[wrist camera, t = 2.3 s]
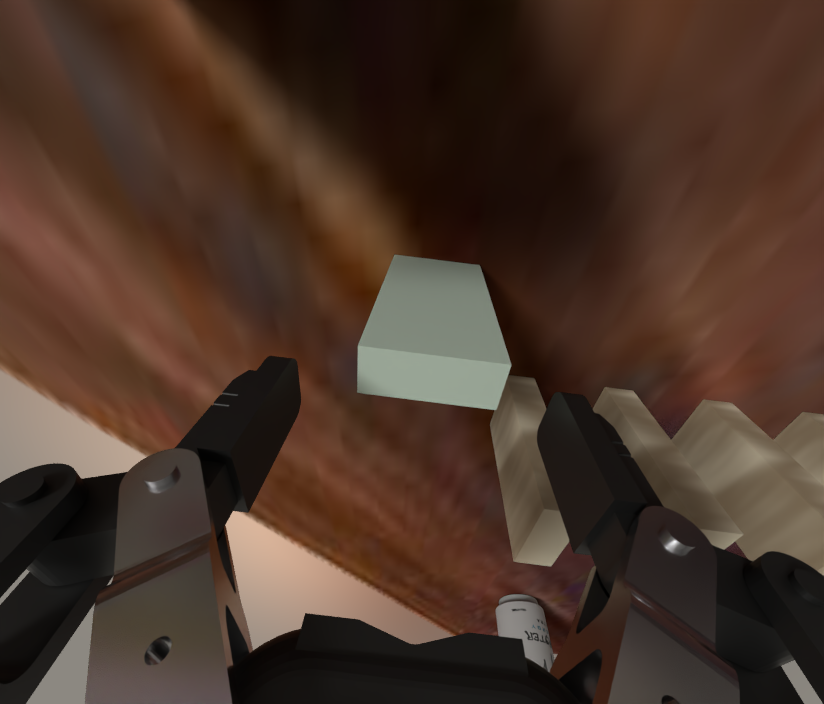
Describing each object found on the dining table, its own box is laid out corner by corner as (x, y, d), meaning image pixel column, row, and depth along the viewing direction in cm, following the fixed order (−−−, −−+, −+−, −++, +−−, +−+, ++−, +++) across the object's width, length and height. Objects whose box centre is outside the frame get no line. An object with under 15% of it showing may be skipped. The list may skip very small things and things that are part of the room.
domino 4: (731, 403, 23) (899, 554, 15) (691, 449, 26) (812, 599, 17) (703, 399, 23) (854, 548, 15) (665, 446, 26) (774, 594, 17)
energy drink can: (550, 605, 43) (596, 798, 30) (511, 614, 45) (539, 796, 33) (524, 588, 41) (562, 788, 28) (485, 599, 43) (504, 787, 31)
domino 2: (534, 378, 23) (588, 514, 15) (514, 427, 26) (551, 566, 17) (506, 374, 23) (544, 508, 15) (489, 424, 26) (513, 561, 17)
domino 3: (633, 390, 23) (743, 534, 15) (602, 438, 26) (681, 583, 17) (604, 387, 23) (698, 528, 15) (577, 435, 26) (643, 578, 17)
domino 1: (394, 254, 19) (357, 345, 10) (479, 265, 19) (511, 365, 10) (392, 286, 20) (357, 392, 12) (472, 296, 20) (496, 410, 12)
